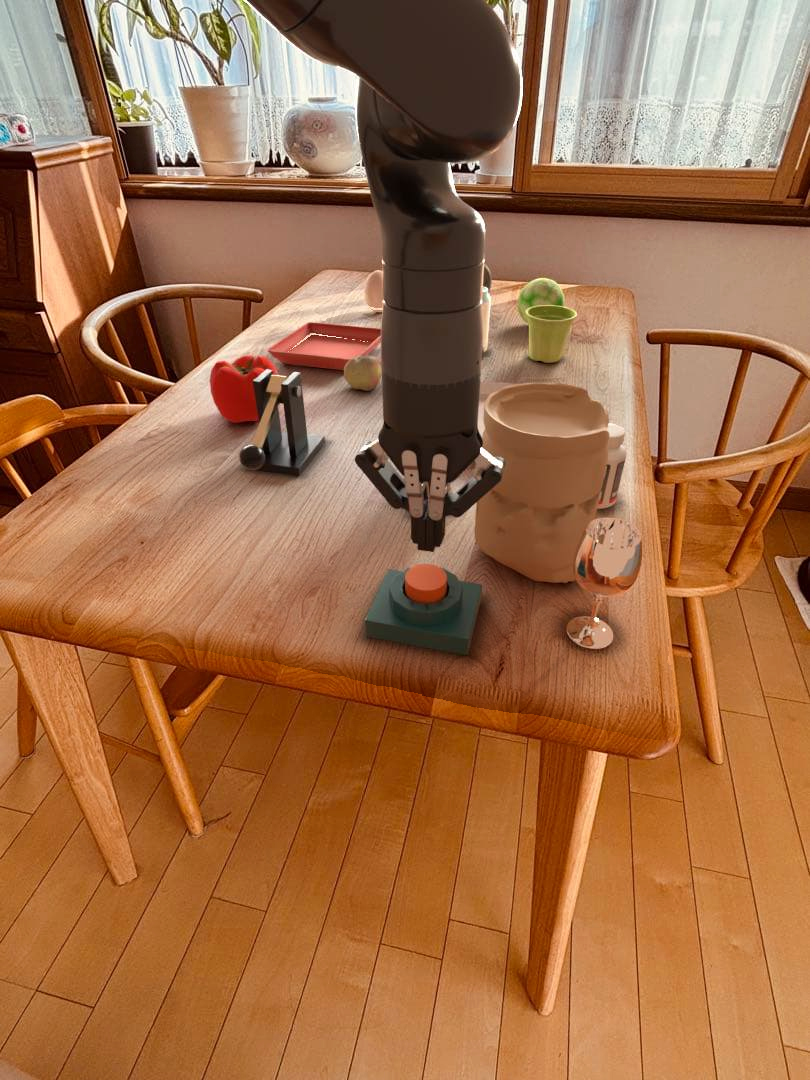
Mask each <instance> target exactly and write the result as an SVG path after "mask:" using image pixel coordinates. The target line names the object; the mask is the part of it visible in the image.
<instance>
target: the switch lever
mask: <svg viewBox="0 0 810 1080" xmlns="http://www.w3.org/2000/svg"><path fill="white" fill-rule="evenodd" d="M287 378H288V376H286V375H278V376H276V375H271V378H270V380H269V383H268V385H267V388H266V390H265V392H266V394H267V396H268V398H269V401H268V403H267V406H266V408H265V411H264V413H263V416H262V418H261V421H260V423H259V422H258V426H257V428H256V431H255V434H254V437H253V438H252V442H251V444H248V445H245V446H243V448H241V450H240V451H239V456H238V458H239V462H240V464H241V466H242V467H243V468H245V469H246V470H249V471H250V470H251V471H257V470H256V469H259V468H260V467H261V466H262V465H263V464H264V462H265V454H264V452H263V450H262V446H263V444H264V441H265V439H266V436H267V433H268V431H269V428H270V425H271V423H272V420H273V418H274V415H275V412H276V410H277V407H278V408H279V406H280V405H279V403H280V404H282V405H283V397H282V390H281V384H282V383H283V382H284V381H285V380H286V379H287ZM278 405H279V406H278Z"/></svg>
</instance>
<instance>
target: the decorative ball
mask: <svg viewBox="0 0 810 1080" xmlns="http://www.w3.org/2000/svg"><path fill="white" fill-rule="evenodd" d="M565 303H566V298H565V294H564V291H563V289H562V288H561V286H560V285H559V284H558V283H557V281H555V280H553V279H550V278H546V277H539V278H534V279H533V280H531V281H529V282H528V283H527V284H525V285H524V287H523V288H521V291H520V292H519V295H518V299H517V302H516V304H517V306H516V307H517V312H518V314H519V316H520V317H521V319H522V321H523V322H524V323H525V322H526V323H528V316H527V315H526V310H527V309H528V308H530V307H534V306H540V305H555V306H562V307H565ZM526 323H525V324H526ZM527 325H529V323H528V324H527Z"/></svg>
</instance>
